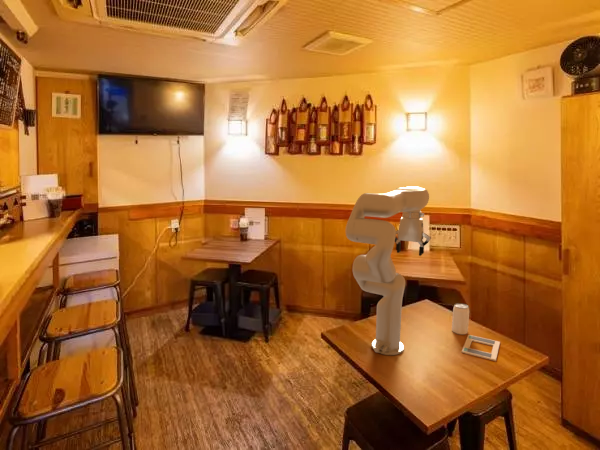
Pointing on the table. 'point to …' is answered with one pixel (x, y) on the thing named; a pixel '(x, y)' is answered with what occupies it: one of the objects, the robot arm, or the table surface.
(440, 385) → the table surface
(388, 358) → the table surface
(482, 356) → the label board
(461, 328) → the can
